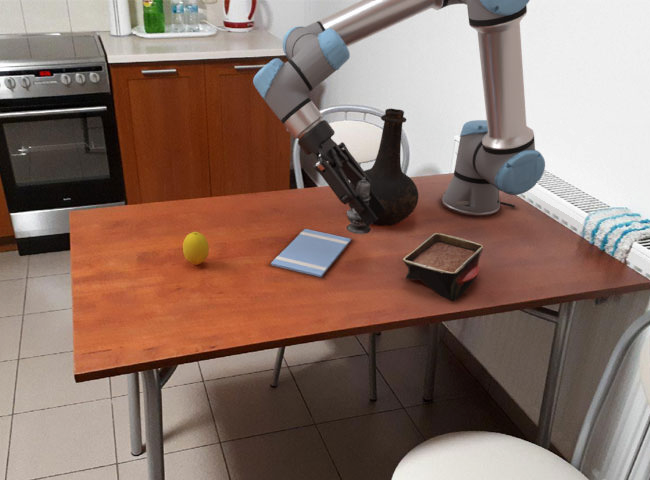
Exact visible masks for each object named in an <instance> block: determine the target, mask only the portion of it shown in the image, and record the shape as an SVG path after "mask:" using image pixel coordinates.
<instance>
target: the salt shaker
mask: <svg viewBox="0 0 650 480" xmlns="http://www.w3.org/2000/svg"><path fill="white" fill-rule="evenodd" d="M365 179H366V178H365V177H363V180H360V181H358V182H357V186H356V194H357V196H358V195H359V194H360V195H361V197H362V198H363V199H364V201H365V202H366V203H367V205H368V204H369V200H370V199H371V197H370V196H369V192H370V183H369V182H368V181H366V180H365ZM346 216H347V219H348V222H349V224H348V225H347V226H346V230H347V231H348V232H349V233H352V234H356V235H365V234H368V233H371V230H372V228H371V227H370V225H369V226H368V227H367V225H366V224H365V223H364V221H363V220H362V219H361V218H360V216H359V215H358V214H357V212H356V211H355V210H354V208H353V209H351V208H350V209H348V210H347V211H346Z"/></svg>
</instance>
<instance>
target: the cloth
mask: <svg viewBox="0 0 650 480" xmlns="http://www.w3.org/2000/svg"><path fill="white" fill-rule="evenodd" d="M351 241H352V238H350V237H346V236H340V235H336V234H331V233H327V232H321V231H316V230H313V229H309V228H303V230H302V231H300V233H299V234H298V235H297V236H296V237H295V238H294V239H293V240H292V241H291V242H290V243H289V244H288V245H287V246H286V247H285V248H284V249H283V250H282V251H281V252H280V253H279V254H278V255H277V256H276V257H275V258H274V259H273V260H272V261H271V262H270V266H272V267H276V268H281V269H284V270H289V271H292V272H293V271H294V272H298V273H300V274H301V273H302V274H304V275H305V274H306V275H310V276H313V277H317V278H323V276H324V275H325V273H326V272H327V271H328V270H329V269H330V267H331V266H332V265H333V263H335V261H336V260H337V259H338V258H339V257H340V255H341V254H342V253H343V251H345V249H346V248H347V247H348V246H349V244H350V243H351Z"/></svg>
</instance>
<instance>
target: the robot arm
mask: <svg viewBox="0 0 650 480" xmlns="http://www.w3.org/2000/svg"><path fill="white" fill-rule="evenodd" d="M529 2H530V0H360V1H358V2H355V3H354V4H351V5H349V6H347V7H345V8H343V9H341V10H339V11H337V12H334V13H332V14H330V15H327V16H326V17H324V18H322V19H320V20H317V21H315V22H313V23H311V24H309V25H307V26H302V25H301V26H293V27H292V28H289V30H287V32H286V33H285V34H284V36H283V38H282V50H283V53H284V55H285V56H286V58H287V59H288V60H287V61H285V62H284V61H283V60H282V59H280V58H277V57H276V58H273V59H272V60H270V61H269V62H268V63H266V64H264V66H262V67H261V68H260V69H259V70H258V71H257V73H256V74H255V75H254V77H253V79H252V81H253V83H252V84H253V86H254V87H255V89H256V91H257V92H258V93H259V95H260V96H261V98H262V99H263V101H264V102H265V103H266V104H267V105H268V107H269V108H270V109H271V111H272V112H273V113H274V114H275V116H276V117H277V118H278V119H279V121H280V123H282V124H283V126H284V127H285V128H286V132H287V133H290V135H291V136H292V138H293V139H294V140H297V139H298V140H297V145H298V146H299V147H300V149H301V150H302V151H303V152H304V154H305V155H307V156H309V155H311V154H313V156H314V158H315V160H316V161H317V162H315V163H314V164H313V165H312V167H313V169H314V170H315V171H316V172H317V173H319V175H320V176H321V177H322V178H323V180H324V181H325V183H326V184H327V185H328V186H329V188H330V189H331V190H332V192H333V193H334V194H335V196H336V197H337V198H338V200H339V201H340V202H341V203H342V204H343V205H347V204H348V202H349V203H350V204H351V206H352V207H353V208H354V210H355V211H356V212H357V214H358V215H359V216H360V218H361V219H362V220H363V221H364V223H365V224H366V225H367V227H368V226H369V227H370V226H371V225H373V224H372V223H374V222H375V221H377V220H378V218H377V217H376V216H377V215H379V214H380V213H382V212H383V211H384V210H386V208H385V207H384V205H383V204H382V203H381V201H380V200H379V199H378V197H377V196H376V195H375V193H374V192H373V191H372V189H371V188H370V192H369V196H370V197H371V199H370V200H369V204H368V205H367V203H366V202H365V201H364V199H363V198H362V197H361V195H360V194H359V195H358V196H357V194H356V192H355V190H354V189H353V187H352V185H351V184H350V182H351V183H352V184H353V185H354V186H355V187H356V186H357V182H358V181H360V180H363V177H365V178H366V179H365V180H366V181H368V182H369V183H370V182H371V180H370V179H369V177H368V176H367V174H366V173H365V172H364V171H365V170H364V169H363V168H362V166H361V165H360V164H359V163H358V161H357V160H356V159H355V158H354V156H353V155H352V153H351V152H350V151H349V149H348V147H347V146H346V144H345V142H343V141H342V142H340V143H339V144H337V142H336V141H334V139H332V137H333V136H334V135H335V130H334V129H333V127H332V126H331V125H330V123H329V122H328V121H327V120H326V119H323V117H324V115H323V114H322V112H321V111H320V110H319V108H318V107H317V106H316V104H315V103H314V102H313V100H312V99H310V97H309V96H308V94H309V93H310V92H312V91H313V90H314V89H316V87H318V86H319V85H320V84H322V83H323V82H324V81H325V80H327V79H328V78H329V77H330V76H331V75H333V74H334V73H335V72H336V71H339V70H340V68H341V67H342V66H343V65H344V64H346V63H347V61H348V60H349V59H350V57H351V56H350V55H351V54H350V51H349V50H350V49H349V48H348V47H350V46H353V45H354V44H357V43H359V42H361V41H363V40H366V39H368V38H369V37H372V36H374V35H376V34H379V33H380V32H382V31H384V30H385V31H386V30H387V29H390V28H391V27H393V26H396V25H397V24H401V23H403V22H405V21H407V20H409V19H411V18H413V17H415V16H417V15H420V14H422V13H424V12H427V11H428V10H430V9H432V10H434V11H439V10H442V9H444V8H446V7H449V6H451V5H452V6H453V5H466V7H467V16H468V17H467V18H468V24H469V27H471V28H472V29H474V30H475V31H476V32H477V42H478V51H479V59H480V69H481V70H480V71H481V76H482V77H481V79H482V87H483V98H484V107H485V118H486V119H475V120H469V121H466V122H465V123H464V124H463V125H462V129H461V131H460V134H459V143H458V147H457V153H456V160H455V164H454V165H455V166H454V171H453V176H452V178H451V180H450V181H449V184H448V186H447V187H446V190H445V191H444V193H443V195H442V199H441V205H442V206H443V207H444V208H445V209H446V210H448V211H450V212H452V213H454V214H456V215H459V216H464V217H470V218H471V217H473V218H488V217H492V216H495V215H497V214H498V213H499V211H500V207H501V206H506V207H509V208H513V209H514V208H515V204H513V203H508V202H504V201H501V199H500V192H503V193H504V194H507V195H509V196H518V195H522V194H525V193H526V192H528V191H530V190H531V189H533V188H534V187H535V186H536V185H537V183H538V182H539V181H541V178H542V177H543V175H544V173H545V168H546V161H545V157H544V156H543V154H542V153H541V152H540V151H539V150H536V144H535V143H536V142H535V133H534V129H532V128H530V127H529V126H528V125H527V114H526V98H525V85H524V84H525V83H524V68H523V53H522V36H521V21H522V20H523V18H524V17H525V16H526V15H527V12H528V7H527V5H528V3H529ZM512 204H513V205H512Z"/></svg>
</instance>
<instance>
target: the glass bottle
mask: <svg viewBox="0 0 650 480" xmlns="http://www.w3.org/2000/svg"><path fill="white" fill-rule="evenodd" d="M404 115H405V111H404V109H403V110H402V109H398V108H387V109H385V110H384V114H383V115H381V116H380V120H382V121H383V126H382V133H381V138H380V143H379V147H378V151H377V154H376V157H375V160H374V163H373V165H372V166H371V168H369V169H365V170H364V172H365V173H366V174H367V176H368V177H369V179H370V180H371V182H370V188H371V189H372V191H373V192H374V193H375V195H376V196H377V197H378V199H379V200H380V201H381V203H382V204H383V205H384V207H385V208H386V210H384V211H383V212H382V213H380V214H379V215H377V216H376V217H377V218H378V220H377V221H375V222H374V223H372V224H371V225H373V226H379V227H388V226H394V225H397V224H400V223H402V222H403V221H404V220H406V219H407V218H408V217H410V216H411V215H412V213H414V211H415V209H416V207H417V205H418V201H419V190H418V187H417V185H416V184H415V182H414V180H413V179H412V178H411V177H410V176H408V175H407V174H406V173H404V172H403V170H402V164H401V162H402V161H401V150H402V149H401V147H402V132H403V123H406V122H407V118H406V117H405V116H404ZM349 182H350V181H349ZM350 184H351V185H352V187H353V189H354V190H355V192H356V187H355V186H354V185H353V184H352V183H351V182H350ZM347 204H348V206H349V208H350V209H353V207H352V206H351V204H350V203H349V202H348V203H347Z"/></svg>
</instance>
